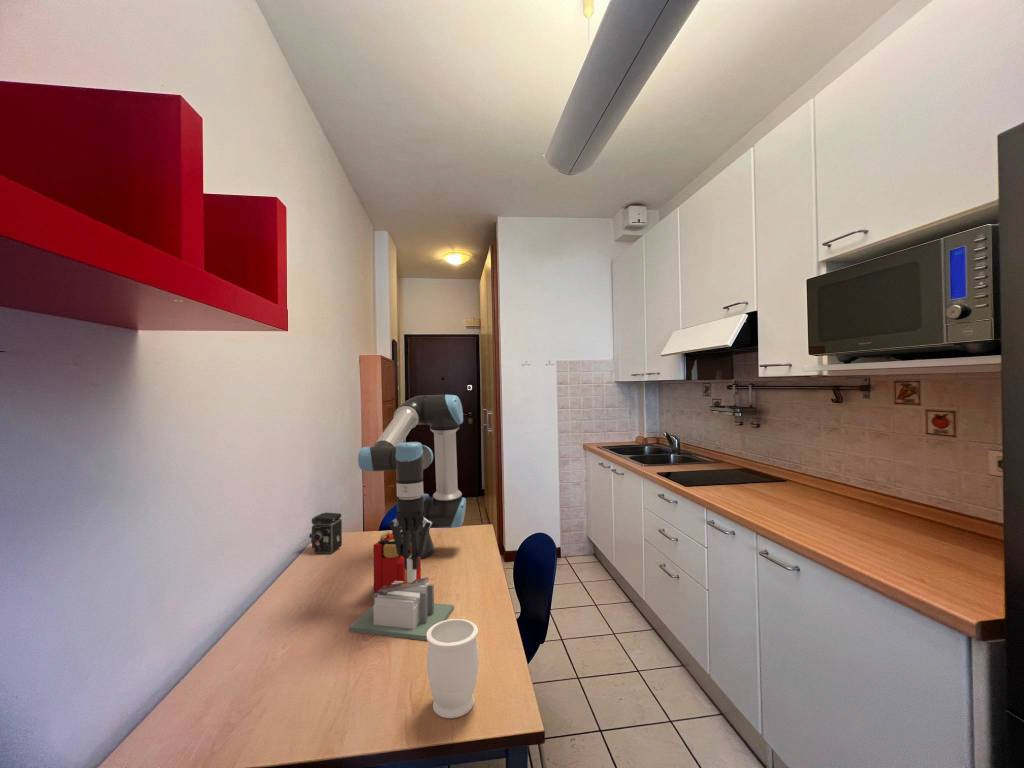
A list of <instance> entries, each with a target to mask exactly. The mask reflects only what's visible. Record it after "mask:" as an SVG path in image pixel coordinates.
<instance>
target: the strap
mask: <svg viewBox="0 0 1024 768" xmlns="http://www.w3.org/2000/svg"><path fill="white" fill-rule="evenodd" d="M429 581H430V579H429V576H427V577H421V579H417V580H414V581H413V582H412V583H411V582H407V580H406V581H404V582H403V583H398V584H393V585H389V586H384V587H382V588H381V589H380V590H379V591H378V593H381V595H383V594H384V593H388V592H392V591H397V590H402V589H407V588H411V587H416V586H421V585H425V584H428V582H429Z"/></svg>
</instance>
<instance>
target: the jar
mask: <svg viewBox="0 0 1024 768" xmlns="http://www.w3.org/2000/svg"><path fill="white" fill-rule="evenodd" d="M478 635H479V629H478V626H477V625H476V623H474V622H472V621H471V620H469V619H464V618H463V619H462V618H451V619H450V618H449V619H447V620H444V621H441V622H439V623H436V624H435V625H433V626H432V627H431V628H430V629H429V630H428V632H427V641H426V642H427V643H428V648H427V655H426V670H427V672H426V673H427V677H428V680H429V681H428V682H429V687H430V693H431V696H432V698H433V701H432V709H433V712H434V713H435V714H436V715H437V716H439V717H440V718H444V719H455V718H460V717H463V716H465V715H466V714H468V713H469V712H470V711H471V709H472V708H473V707H474V705H475V697H474V692H475V689H476V685H477V678H478V671H479V663H480V662H479V659H480V657H479V656H480V655H479V648H478V647H479V646H478V641H477V638H478Z"/></svg>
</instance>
